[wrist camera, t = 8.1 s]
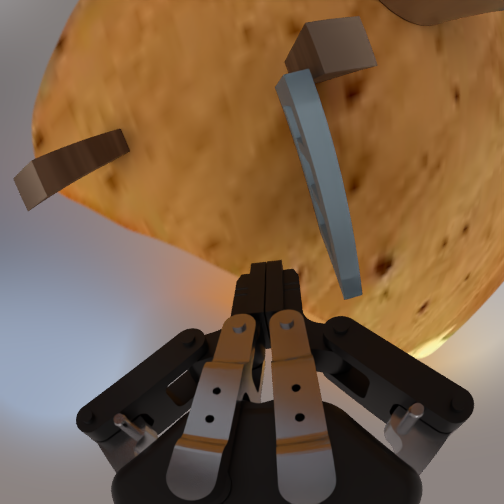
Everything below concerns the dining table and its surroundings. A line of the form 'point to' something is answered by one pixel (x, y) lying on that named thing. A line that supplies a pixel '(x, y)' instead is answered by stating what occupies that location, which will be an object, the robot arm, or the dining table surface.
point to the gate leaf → (321, 175)
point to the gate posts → (113, 143)
